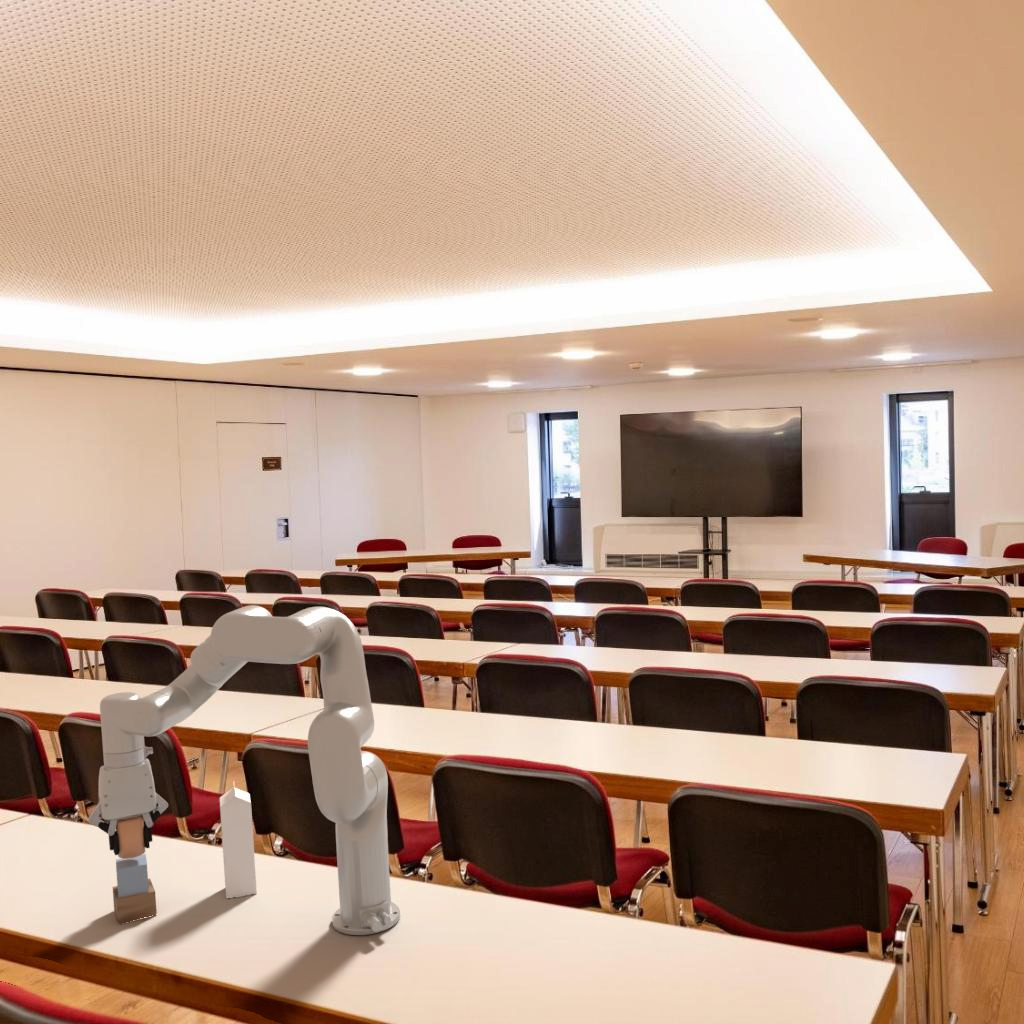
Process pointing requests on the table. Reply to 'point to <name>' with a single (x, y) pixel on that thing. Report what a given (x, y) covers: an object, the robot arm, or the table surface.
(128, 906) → the walnut base block
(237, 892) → the milk
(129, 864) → the slate blue cube
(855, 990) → the table surface
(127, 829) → the terracotta capsule
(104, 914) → the table surface
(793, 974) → the table surface
